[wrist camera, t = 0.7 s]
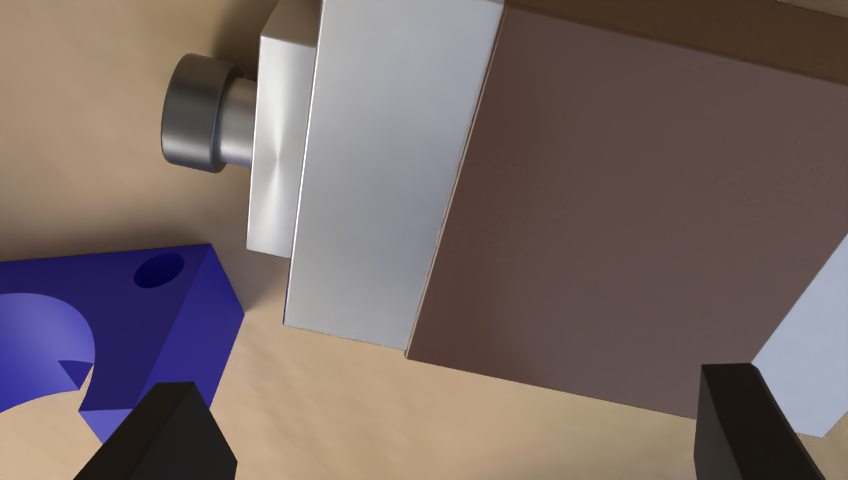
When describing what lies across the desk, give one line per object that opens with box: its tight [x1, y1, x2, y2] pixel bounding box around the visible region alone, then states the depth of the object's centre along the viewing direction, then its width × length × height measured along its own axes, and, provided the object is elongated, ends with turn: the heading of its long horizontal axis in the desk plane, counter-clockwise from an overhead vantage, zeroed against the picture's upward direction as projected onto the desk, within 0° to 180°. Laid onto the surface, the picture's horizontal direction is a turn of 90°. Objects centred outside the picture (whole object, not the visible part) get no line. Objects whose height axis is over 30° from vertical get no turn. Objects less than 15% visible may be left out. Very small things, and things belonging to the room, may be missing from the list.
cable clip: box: [0, 244, 245, 444], centre depth 23 cm, size 12×4×6 cm, turn 101°
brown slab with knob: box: [161, 0, 848, 438], centre depth 19 cm, size 10×18×3 cm, turn 79°
